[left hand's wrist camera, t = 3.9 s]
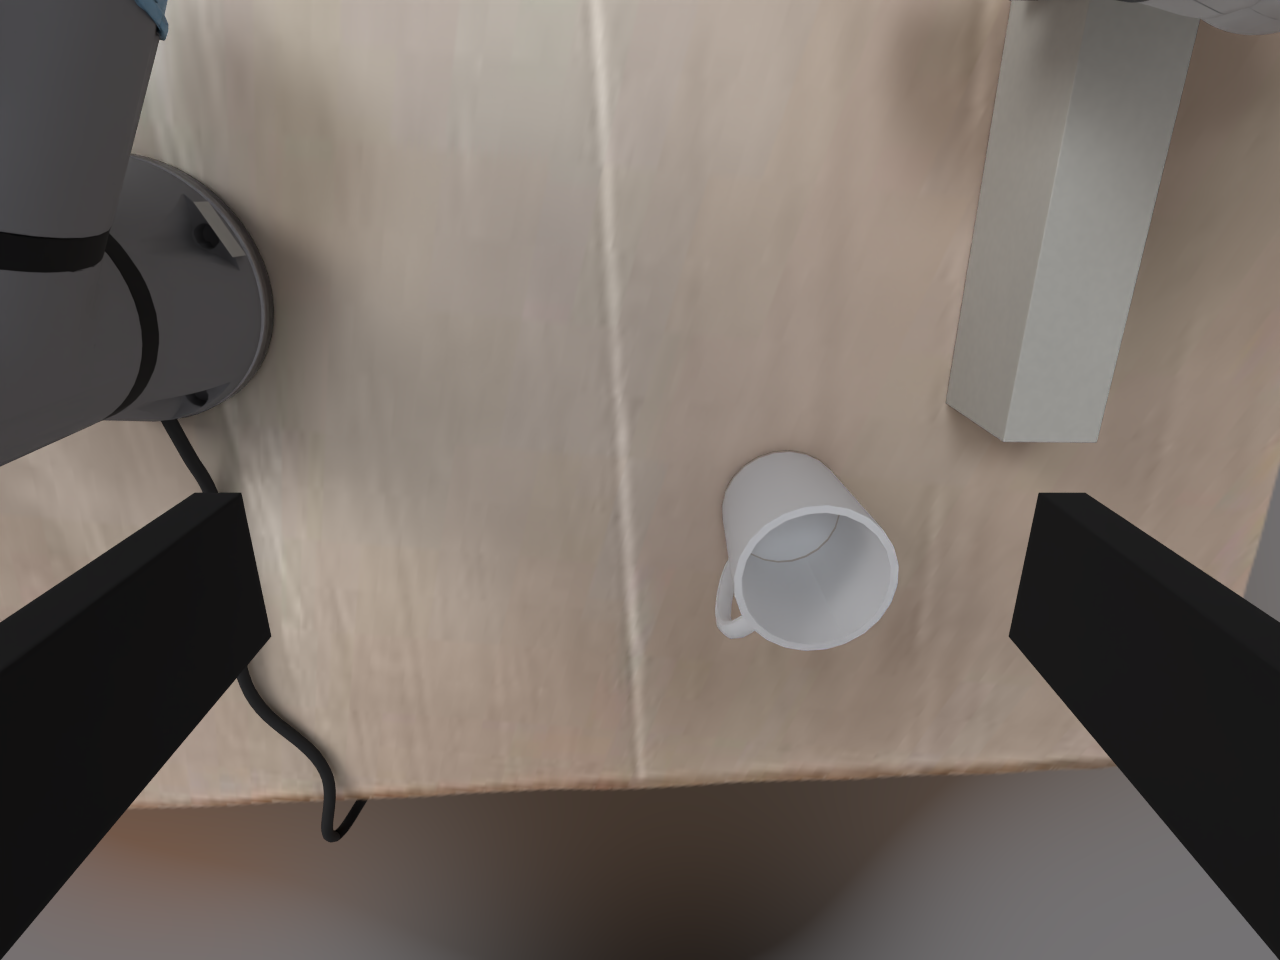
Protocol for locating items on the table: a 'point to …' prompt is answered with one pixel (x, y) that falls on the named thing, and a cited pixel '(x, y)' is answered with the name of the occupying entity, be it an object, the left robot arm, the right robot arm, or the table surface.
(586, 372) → the table surface
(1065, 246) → the bar
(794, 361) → the table surface
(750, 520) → the mug
